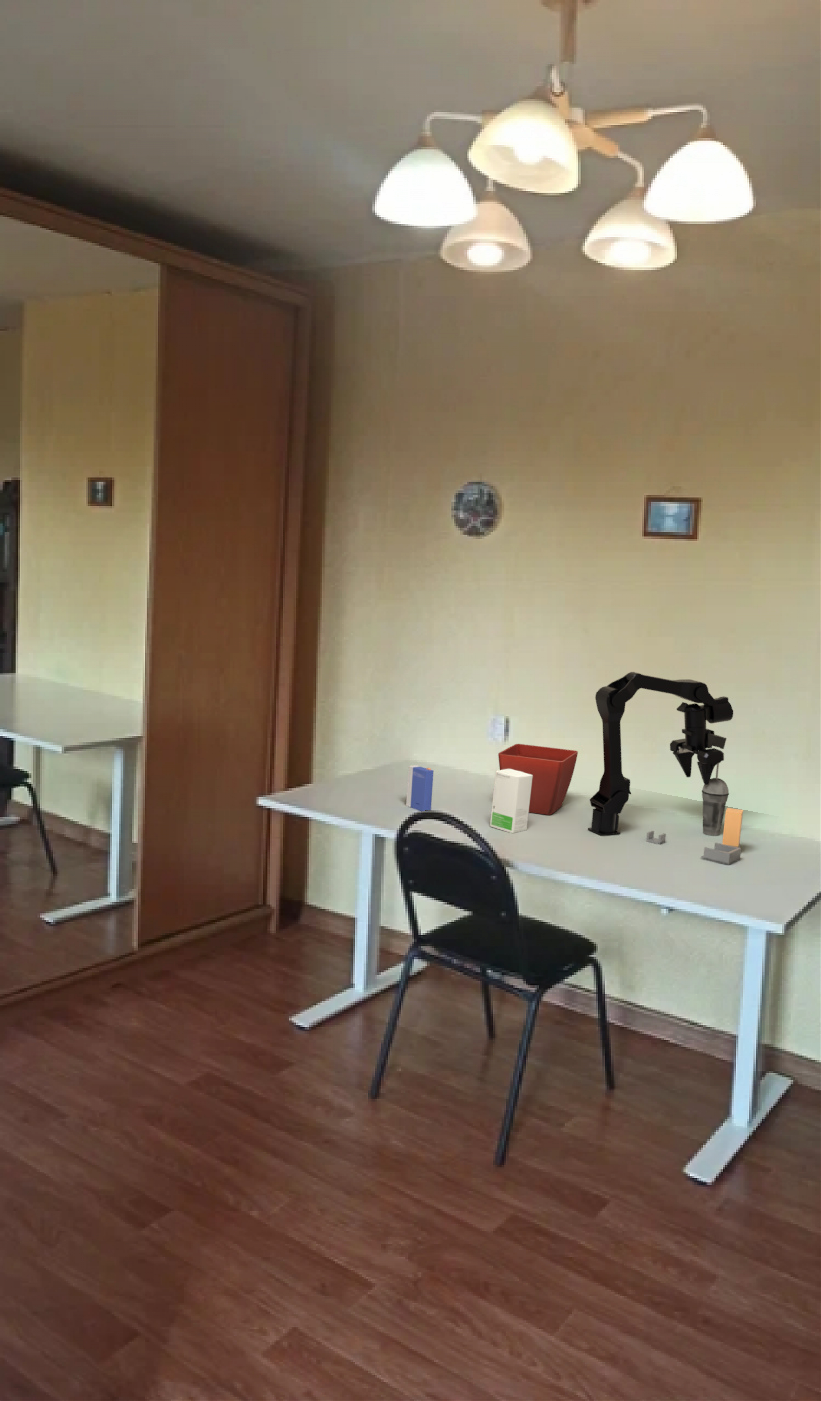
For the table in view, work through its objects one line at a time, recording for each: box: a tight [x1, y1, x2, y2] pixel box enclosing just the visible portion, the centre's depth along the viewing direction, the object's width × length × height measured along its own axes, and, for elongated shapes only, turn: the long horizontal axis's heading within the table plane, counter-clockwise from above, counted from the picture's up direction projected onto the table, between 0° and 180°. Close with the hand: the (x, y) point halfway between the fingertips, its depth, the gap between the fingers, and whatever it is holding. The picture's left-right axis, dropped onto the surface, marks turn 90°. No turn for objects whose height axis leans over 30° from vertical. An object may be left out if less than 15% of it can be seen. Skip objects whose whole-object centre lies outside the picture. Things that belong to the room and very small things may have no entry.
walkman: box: [405, 764, 434, 812], centre depth 318 cm, size 8×3×12 cm, turn 39°
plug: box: [721, 807, 744, 848], centre depth 292 cm, size 4×4×11 cm
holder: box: [700, 842, 742, 866], centre depth 285 cm, size 7×7×3 cm
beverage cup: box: [701, 763, 730, 837], centre depth 309 cm, size 7×7×20 cm
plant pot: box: [497, 743, 579, 816], centre depth 326 cm, size 19×19×17 cm
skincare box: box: [489, 769, 533, 834], centre depth 301 cm, size 8×7×16 cm
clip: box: [645, 830, 667, 845], centre depth 298 cm, size 3×4×2 cm
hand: (697, 780), depth 311 cm, fingers open, 9 cm apart
